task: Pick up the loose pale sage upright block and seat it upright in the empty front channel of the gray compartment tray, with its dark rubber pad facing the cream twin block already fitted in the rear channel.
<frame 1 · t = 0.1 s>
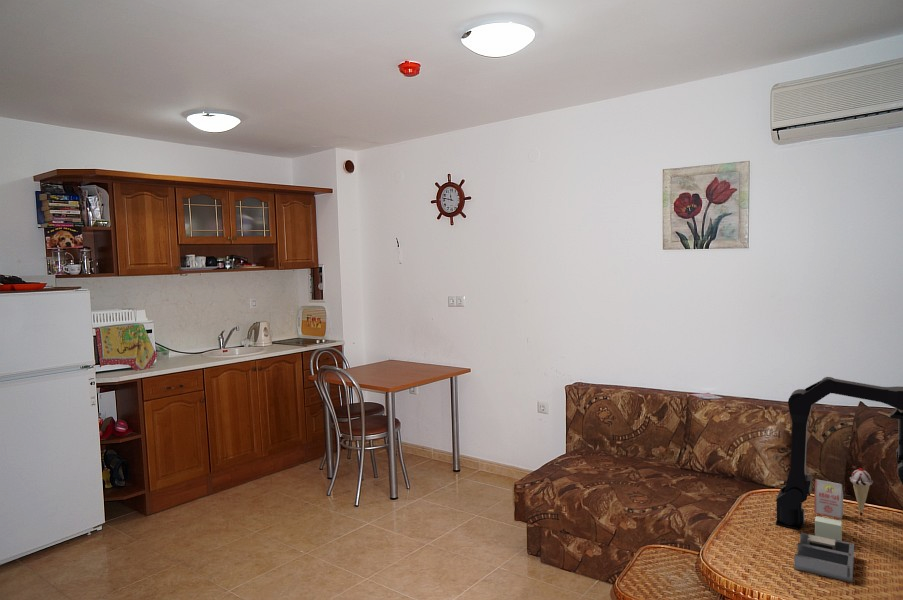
gray compartment tray: (824, 562, 148), on the table
tea bag: (828, 514, 176), on the table
pale sage upright block: (828, 542, 159), on the table
ice cream cone: (861, 517, 172), on the table
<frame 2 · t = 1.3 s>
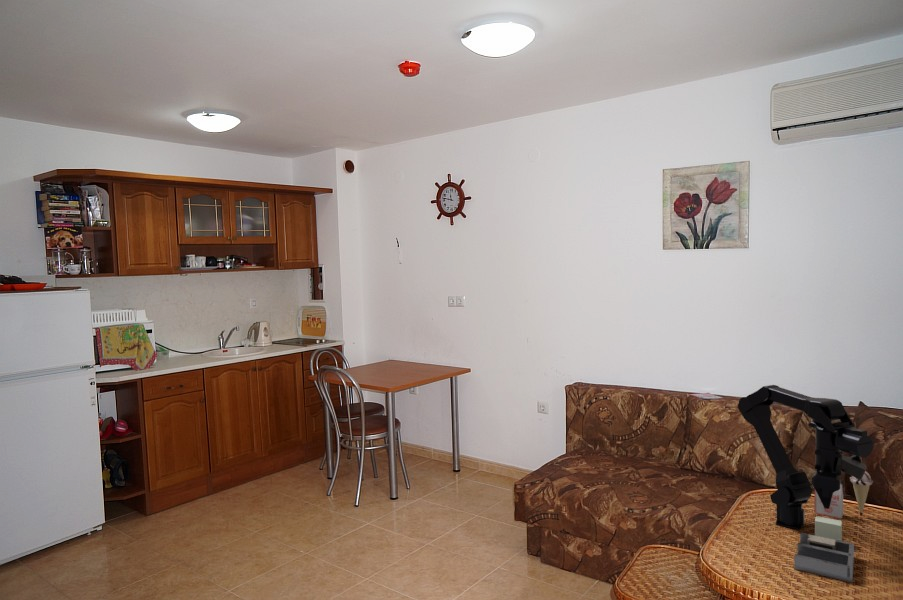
hand: (827, 502, 158), 11 cm above the table, fingers open, 9 cm apart
nothing on the table moved.
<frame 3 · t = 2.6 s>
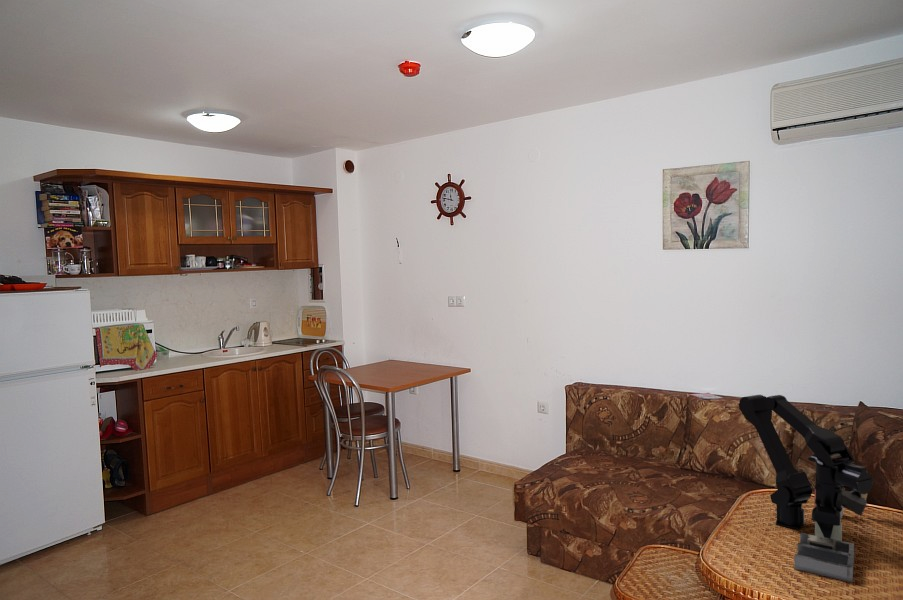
hand: (828, 536, 159), 2 cm above the table, fingers closed on pale sage upright block, 4 cm apart
pale sage upright block: (828, 542, 159), on the table, touching gripper
everything else where it was.
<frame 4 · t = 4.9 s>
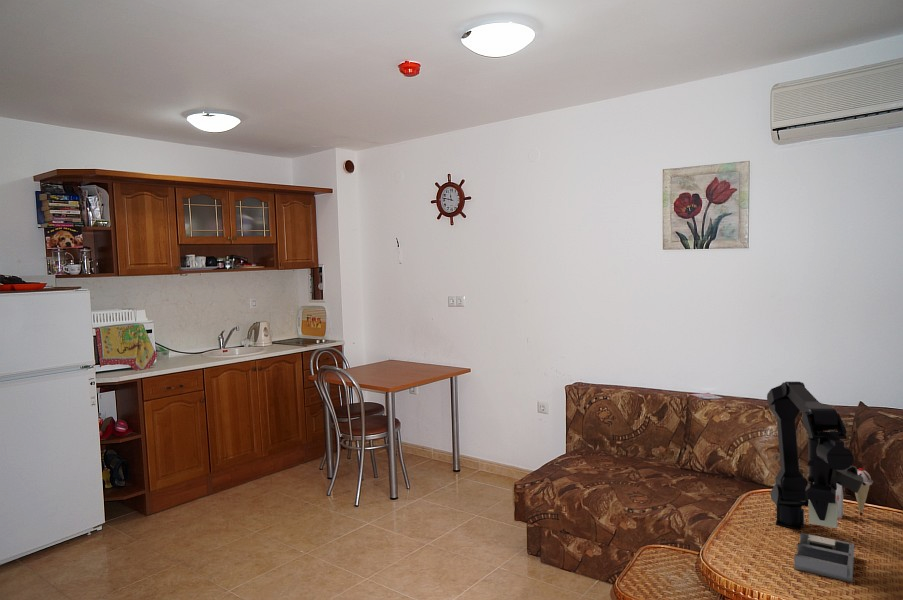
hand: (822, 517, 148), 12 cm above the table, fingers closed on pale sage upright block, 4 cm apart
pale sage upright block: (823, 523, 148), point 10 cm above the table, touching gripper
everything else where it was.
when the fingers open (4 cm above the table, at t = 6.9 s): pale sage upright block drops 1 cm, resting on gray compartment tray.
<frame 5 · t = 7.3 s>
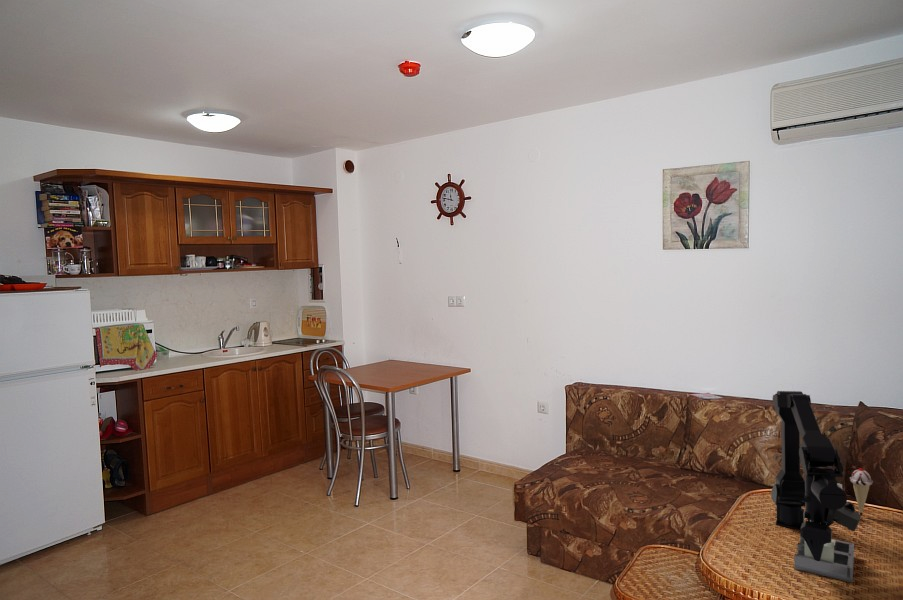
hand: (818, 553, 145), 4 cm above the table, fingers open, 8 cm apart
pale sage upright block: (819, 565, 145), point 1 cm above the table, touching gray compartment tray
everything else where it was.
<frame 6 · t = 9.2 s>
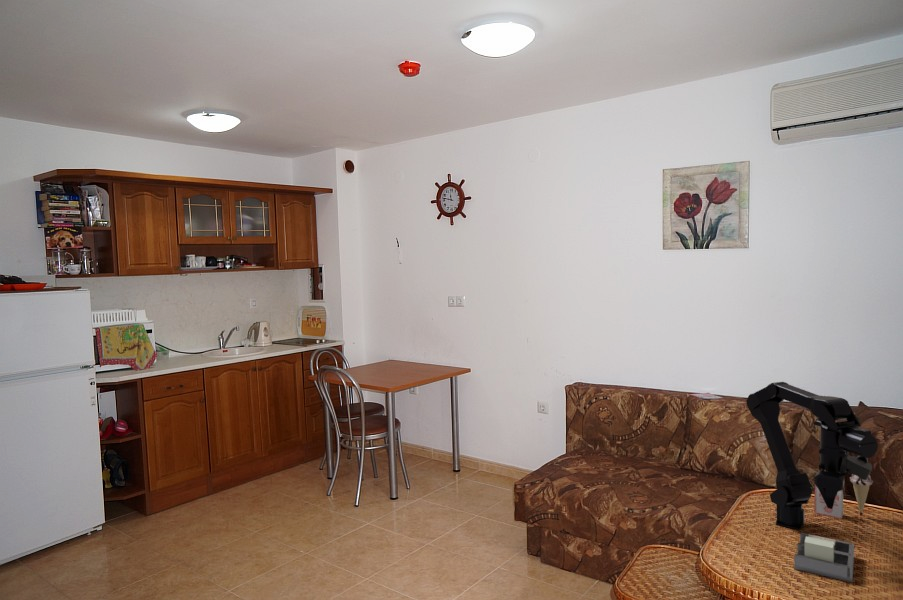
hand: (832, 502, 156), 12 cm above the table, fingers open, 9 cm apart
nothing on the table moved.
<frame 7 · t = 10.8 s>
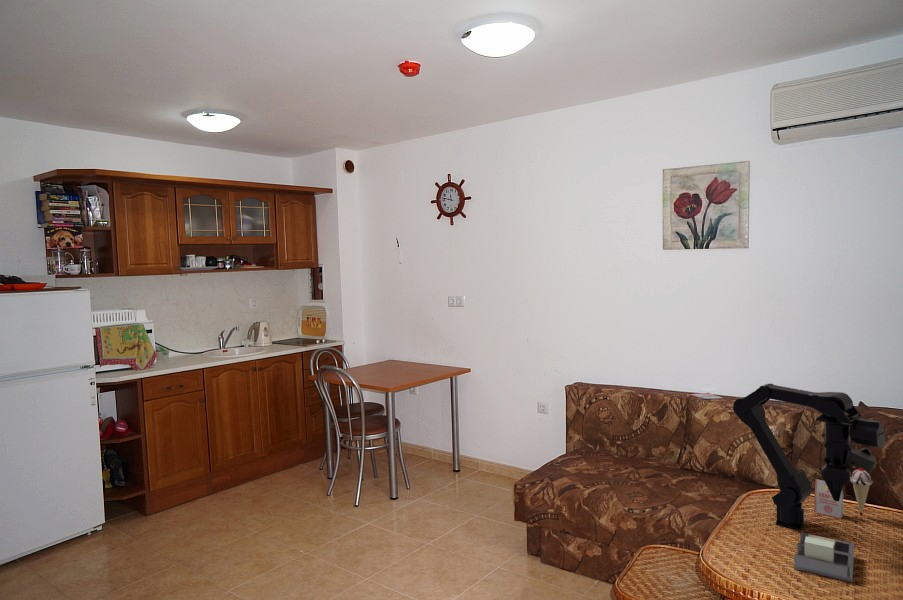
hand: (837, 495, 159), 13 cm above the table, fingers open, 9 cm apart
nothing on the table moved.
at the end: pale sage upright block inside the target area on the gray compartment tray (0.9 cm from its centre), point 1.0 cm above the gray compartment tray's base; pale sage upright block tilted 0°; the gripper is holding nothing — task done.
